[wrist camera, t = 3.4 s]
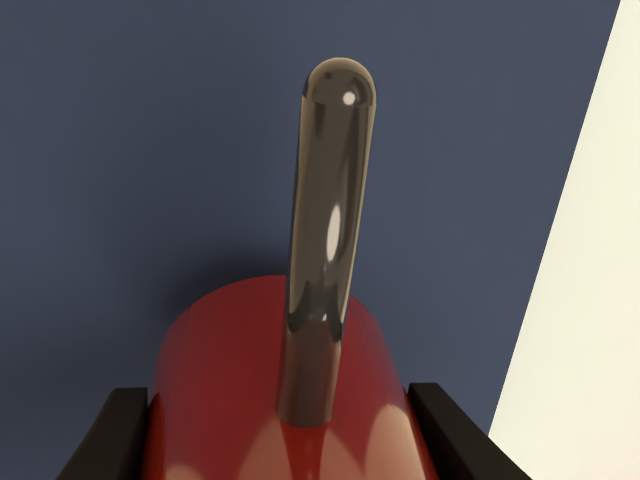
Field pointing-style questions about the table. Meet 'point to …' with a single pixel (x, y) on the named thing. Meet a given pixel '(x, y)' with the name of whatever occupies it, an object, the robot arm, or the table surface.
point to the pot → (292, 336)
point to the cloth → (269, 182)
